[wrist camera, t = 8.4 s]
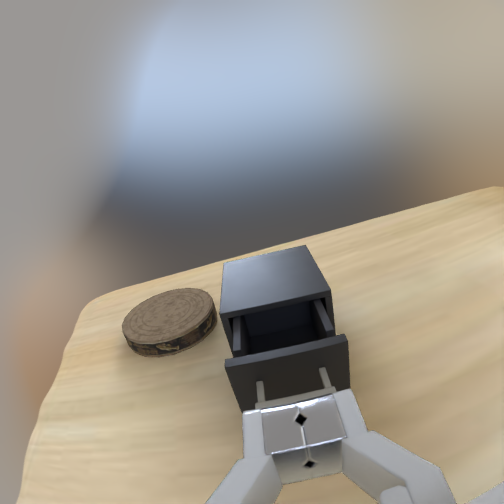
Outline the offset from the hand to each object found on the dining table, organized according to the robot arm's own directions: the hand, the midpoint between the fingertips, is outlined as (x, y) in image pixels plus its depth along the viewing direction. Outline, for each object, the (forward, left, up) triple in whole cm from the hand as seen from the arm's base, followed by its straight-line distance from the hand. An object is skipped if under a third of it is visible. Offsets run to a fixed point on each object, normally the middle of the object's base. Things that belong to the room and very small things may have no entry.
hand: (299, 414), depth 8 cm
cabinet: (+26, -19, -20) cm, 38 cm away
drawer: (+17, -13, -19) cm, 29 cm away
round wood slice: (+42, -9, -20) cm, 47 cm away
